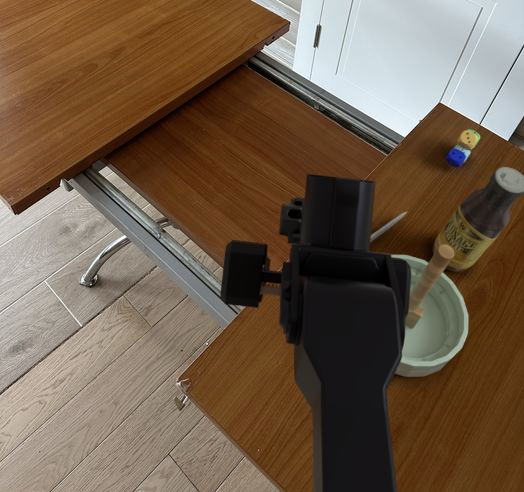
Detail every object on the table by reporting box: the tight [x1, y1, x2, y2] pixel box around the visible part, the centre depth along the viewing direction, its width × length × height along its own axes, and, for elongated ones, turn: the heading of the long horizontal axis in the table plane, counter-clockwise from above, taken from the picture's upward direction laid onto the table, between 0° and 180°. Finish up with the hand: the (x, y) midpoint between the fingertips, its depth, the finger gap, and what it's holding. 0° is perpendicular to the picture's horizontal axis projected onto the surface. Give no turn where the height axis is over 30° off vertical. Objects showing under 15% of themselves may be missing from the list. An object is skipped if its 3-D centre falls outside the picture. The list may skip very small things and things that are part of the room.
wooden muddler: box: [405, 244, 454, 329], centre depth 64 cm, size 2×4×18 cm, turn 59°
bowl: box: [391, 254, 469, 378], centre depth 69 cm, size 15×15×4 cm
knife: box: [370, 210, 409, 243], centre depth 78 cm, size 15×1×2 cm, turn 128°
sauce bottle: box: [432, 166, 524, 272], centre depth 71 cm, size 7×6×20 cm
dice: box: [445, 128, 481, 168], centre depth 89 cm, size 8×3×6 cm, turn 140°
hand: (306, 268), depth 61 cm, fingers open, 9 cm apart
